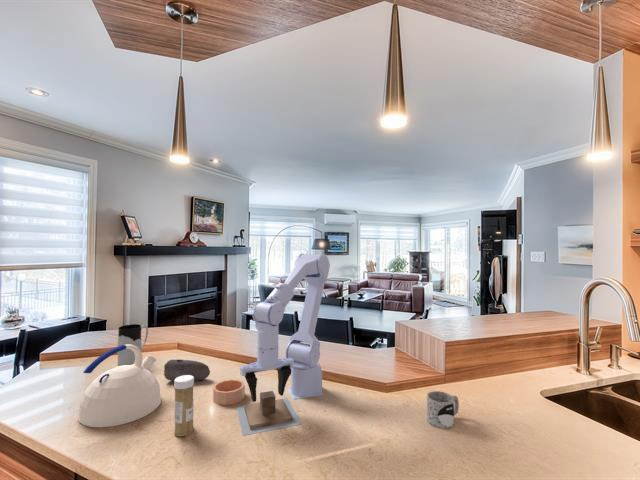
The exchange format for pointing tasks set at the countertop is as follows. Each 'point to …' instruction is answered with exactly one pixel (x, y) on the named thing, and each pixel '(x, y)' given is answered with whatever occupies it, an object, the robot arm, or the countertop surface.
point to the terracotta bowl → (228, 392)
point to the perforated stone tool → (185, 369)
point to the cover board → (267, 418)
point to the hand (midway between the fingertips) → (267, 397)
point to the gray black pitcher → (130, 342)
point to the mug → (441, 409)
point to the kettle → (120, 392)
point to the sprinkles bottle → (183, 405)
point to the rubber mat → (247, 430)
